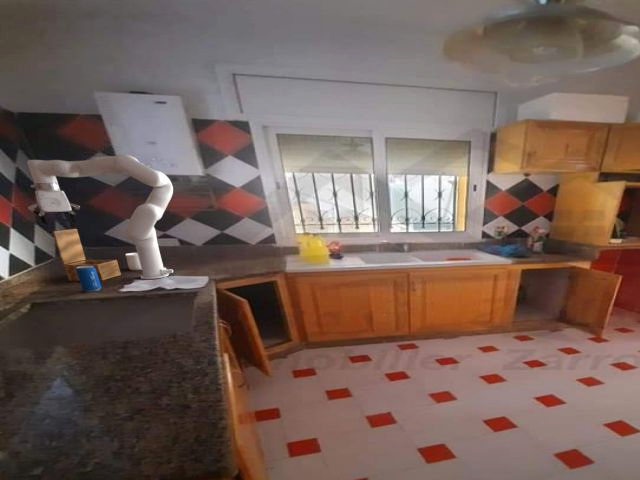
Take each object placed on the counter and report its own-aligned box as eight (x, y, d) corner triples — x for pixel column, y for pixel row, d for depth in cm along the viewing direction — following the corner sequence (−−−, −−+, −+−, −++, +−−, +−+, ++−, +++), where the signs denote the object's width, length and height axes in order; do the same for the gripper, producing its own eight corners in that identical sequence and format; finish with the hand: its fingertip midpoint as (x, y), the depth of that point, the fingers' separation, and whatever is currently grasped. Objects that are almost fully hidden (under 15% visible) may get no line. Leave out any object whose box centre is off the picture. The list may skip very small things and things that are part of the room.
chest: (121, 274, 185) (116, 260, 182) (102, 280, 173) (97, 264, 171) (90, 275, 184) (85, 260, 181) (69, 280, 172) (63, 265, 169)
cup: (126, 269, 198) (121, 254, 194) (145, 266, 206) (141, 251, 203) (133, 271, 193) (129, 255, 190) (152, 268, 202) (148, 252, 199)
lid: (76, 228, 175) (66, 228, 175) (54, 231, 163) (43, 231, 163) (85, 259, 181) (76, 259, 180) (64, 264, 169) (53, 264, 168)
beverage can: (90, 292, 152) (81, 268, 149) (79, 291, 154) (71, 267, 150) (105, 288, 158) (97, 265, 155) (95, 288, 160) (87, 264, 156)
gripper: (21, 187, 144) (36, 225, 149) (75, 187, 158) (87, 222, 163) (18, 187, 148) (32, 224, 153) (71, 187, 161) (82, 221, 167)
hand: (60, 223), depth 158 cm, fingers open, 9 cm apart
